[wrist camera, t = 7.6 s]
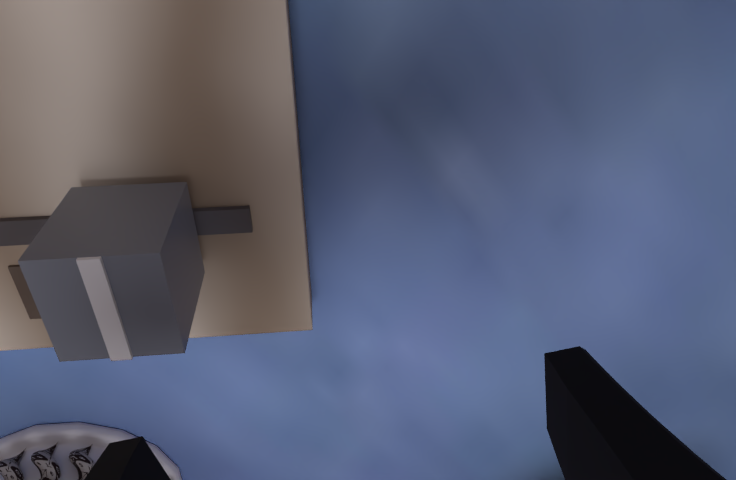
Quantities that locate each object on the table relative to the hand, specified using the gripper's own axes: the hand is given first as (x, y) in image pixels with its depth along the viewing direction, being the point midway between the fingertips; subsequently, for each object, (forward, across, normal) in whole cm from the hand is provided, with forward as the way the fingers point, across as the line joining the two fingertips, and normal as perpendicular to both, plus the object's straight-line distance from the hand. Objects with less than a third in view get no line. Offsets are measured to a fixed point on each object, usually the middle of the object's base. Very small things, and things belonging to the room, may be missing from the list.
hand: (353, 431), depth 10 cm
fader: (+7, +5, -1) cm, 9 cm away
